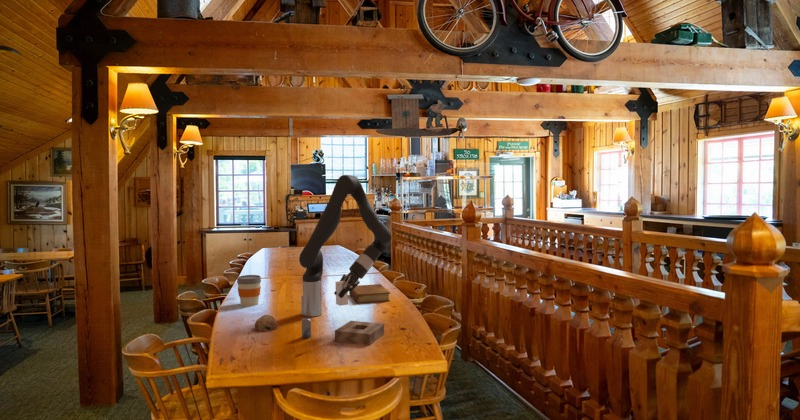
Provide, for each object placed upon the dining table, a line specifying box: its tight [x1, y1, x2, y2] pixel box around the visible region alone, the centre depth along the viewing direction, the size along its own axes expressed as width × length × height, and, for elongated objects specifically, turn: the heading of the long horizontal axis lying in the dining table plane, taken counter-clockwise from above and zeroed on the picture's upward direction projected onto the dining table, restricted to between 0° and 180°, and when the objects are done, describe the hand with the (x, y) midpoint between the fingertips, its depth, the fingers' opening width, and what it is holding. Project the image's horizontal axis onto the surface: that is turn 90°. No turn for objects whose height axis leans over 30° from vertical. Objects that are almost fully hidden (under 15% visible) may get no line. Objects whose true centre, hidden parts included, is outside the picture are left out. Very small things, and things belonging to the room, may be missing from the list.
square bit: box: [335, 280, 349, 307], centre depth 230 cm, size 4×4×10 cm
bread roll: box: [254, 314, 278, 332], centre depth 236 cm, size 10×10×8 cm
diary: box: [348, 283, 391, 305], centre depth 295 cm, size 23×19×6 cm
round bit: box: [301, 317, 312, 340], centre depth 222 cm, size 4×4×8 cm
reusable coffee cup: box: [236, 274, 262, 307], centre depth 281 cm, size 13×13×15 cm
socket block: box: [334, 320, 385, 346], centre depth 222 cm, size 16×16×4 cm
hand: (337, 295), depth 229 cm, fingers closed on square bit, 4 cm apart
